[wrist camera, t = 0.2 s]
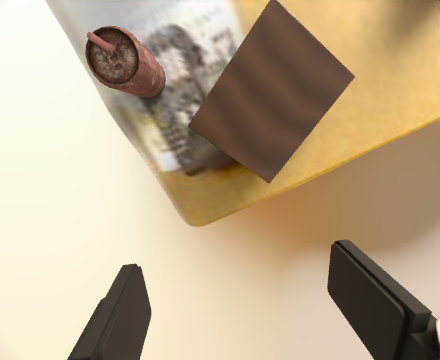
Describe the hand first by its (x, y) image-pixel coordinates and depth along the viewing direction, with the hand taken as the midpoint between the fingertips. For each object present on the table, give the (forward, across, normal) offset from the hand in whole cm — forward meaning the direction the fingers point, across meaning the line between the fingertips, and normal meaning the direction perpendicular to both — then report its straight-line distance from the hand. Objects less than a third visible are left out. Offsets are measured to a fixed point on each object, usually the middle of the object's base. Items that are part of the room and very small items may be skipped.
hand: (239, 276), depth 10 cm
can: (+31, +10, -14) cm, 36 cm away
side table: (+31, -9, -9) cm, 33 cm away
